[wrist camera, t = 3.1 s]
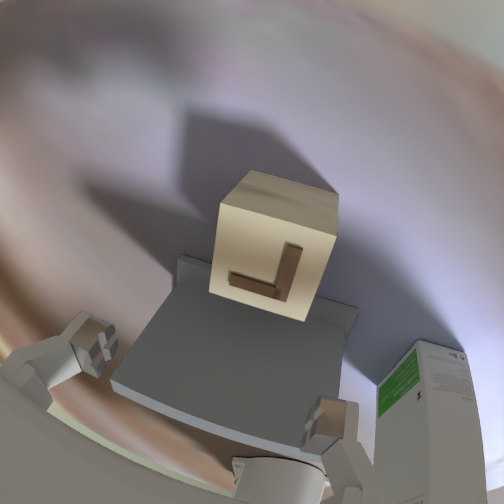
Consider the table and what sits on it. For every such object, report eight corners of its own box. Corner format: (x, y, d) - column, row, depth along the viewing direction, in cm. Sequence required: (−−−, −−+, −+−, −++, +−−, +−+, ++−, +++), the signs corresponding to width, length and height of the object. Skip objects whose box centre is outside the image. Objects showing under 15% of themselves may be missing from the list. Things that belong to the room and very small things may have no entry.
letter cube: (314, 266, 23) (303, 323, 18) (237, 243, 24) (207, 293, 19) (338, 193, 20) (336, 238, 15) (251, 169, 21) (218, 204, 16)
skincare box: (418, 335, 24) (429, 510, 11) (470, 352, 23) (493, 504, 11) (373, 387, 29) (360, 531, 16) (422, 399, 28) (422, 531, 15)
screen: (336, 347, 27) (318, 471, 17) (179, 298, 29) (111, 399, 19) (358, 308, 24) (349, 446, 14) (181, 254, 26) (97, 359, 16)
